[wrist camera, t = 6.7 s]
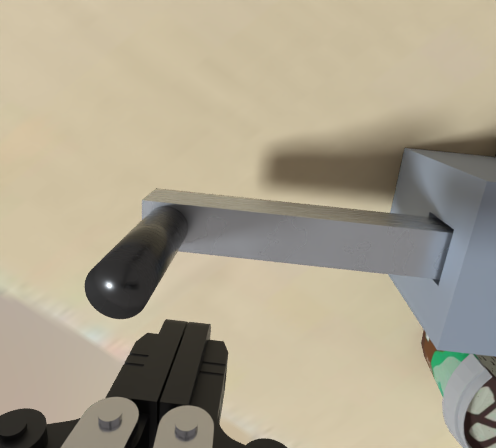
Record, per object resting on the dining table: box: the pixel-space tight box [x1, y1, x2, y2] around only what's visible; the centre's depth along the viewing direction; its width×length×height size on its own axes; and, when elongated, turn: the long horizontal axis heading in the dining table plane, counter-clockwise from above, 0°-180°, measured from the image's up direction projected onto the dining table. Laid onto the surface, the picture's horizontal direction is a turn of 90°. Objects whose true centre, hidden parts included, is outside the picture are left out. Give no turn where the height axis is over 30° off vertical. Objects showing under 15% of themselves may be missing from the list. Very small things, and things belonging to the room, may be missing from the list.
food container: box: [421, 331, 496, 448], centre depth 32 cm, size 12×6×10 cm, turn 51°
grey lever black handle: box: [85, 188, 454, 319], centre depth 21 cm, size 3×25×11 cm, turn 85°
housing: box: [388, 148, 496, 357], centre depth 25 cm, size 12×7×16 cm, turn 175°
